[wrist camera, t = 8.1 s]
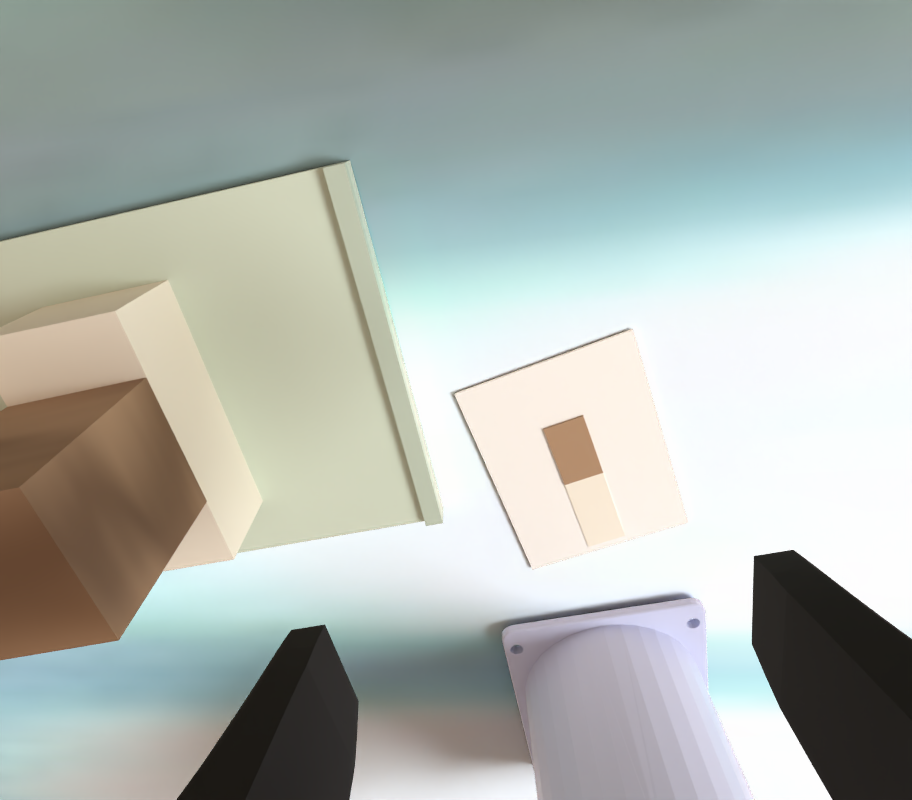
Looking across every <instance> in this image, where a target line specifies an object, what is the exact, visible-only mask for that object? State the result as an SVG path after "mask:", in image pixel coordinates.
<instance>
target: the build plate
mask: <svg viewBox="0 0 912 800" xmlns="http://www.w3.org/2000/svg"><path fill="white" fill-rule="evenodd" d="M165 280H168V281H169V283H170V285H171V288H172V290H173V292H174V295H175V297H176V299H177V302H178V304H179V306H180V309H181V311H182V313H183V316H184V318H185V320H186V323H187V325H188V327H189V330H190V332H191V334H192V337H193V339H194V341H195V344H196V346H197V348H198V351H199V353H200V355H201V358H202V360H203V363H204V365H205V367H206V370H207V372H208V374H209V377H210V379H211V381H212V384H213V386H214V388H215V391H216V393H217V395H218V398H219V400H220V402H221V405H222V407H223V409H224V412H225V414H226V416H227V419H228V421H229V423H230V426H231V428H232V430H233V433H234V435H235V437H236V440H237V442H238V444H239V447H240V449H241V451H242V454H243V456H244V458H245V461H246V463H247V465H248V468H249V470H250V472H251V475H252V477H253V479H254V482H255V484H256V486H257V489H258V491H259V493H260V496H261V498H262V500H263V502H262V504H261V506H260V508H259V510H258V512H257V514H256V516H255V518H254V520H253V522H252V524H251V526H250V528H249V530H248V532H247V534H246V536H245V538H244V540H243V542H242V544H241V546H240V548H239V550H238V552H237V553H240V552H246V551H252V550H258V549H263V548H269V547H275V546H281V545H287V544H293V543H299V542H304V541H310V540H316V539H322V538H328V537H334V536H339V535H345V534H351V533H357V532H363V531H369V530H375V529H380V528H386V527H392V526H398V525H404V524H410V523H416V522H421V521H425V524H426V526H429V525H435V524H440V523H443V505H442V501H441V497H440V494H439V490H438V486H437V482H436V479H435V475H434V471H433V468H432V464H431V460H430V456H429V453H428V449H427V445H426V442H425V438H424V434H423V430H422V427H421V423H420V419H419V415H418V412H417V408H416V404H415V401H414V397H413V393H412V389H411V386H410V382H409V378H408V375H407V371H406V367H405V363H404V360H403V356H402V352H401V349H400V345H399V341H398V337H397V334H396V330H395V326H394V323H393V319H392V315H391V311H390V308H389V304H388V300H387V296H386V293H385V289H384V285H383V282H382V278H381V274H380V270H379V267H378V263H377V259H376V256H375V252H374V248H373V244H372V241H371V237H370V233H369V230H368V226H367V222H366V218H365V215H364V211H363V207H362V204H361V200H360V196H359V192H358V189H357V185H356V181H355V177H354V174H353V170H352V166H351V163H350V160H349V161H345V162H341V163H336V164H332V165H328V166H323V167H319V168H315V169H310V170H306V171H302V172H297V173H293V174H289V175H284V176H280V177H276V178H271V179H267V180H263V181H258V182H254V183H250V184H245V185H241V186H237V187H232V188H228V189H224V190H219V191H215V192H211V193H206V194H202V195H198V196H193V197H189V198H185V199H180V200H176V201H172V202H167V203H163V204H159V205H154V206H150V207H146V208H141V209H137V210H133V211H128V212H124V213H120V214H115V215H111V216H107V217H102V218H98V219H94V220H89V221H85V222H81V223H76V224H72V225H68V226H63V227H59V228H55V229H50V230H46V231H41V232H37V233H33V234H28V235H24V236H20V237H15V238H11V239H7V240H2V241H0V327H2V326H4V325H6V324H8V323H10V322H12V321H15V320H17V319H19V318H21V317H23V316H25V315H27V314H29V313H31V312H33V311H35V310H38V309H40V308H42V307H45V306H50V305H54V304H59V303H64V302H68V301H73V300H77V299H82V298H87V297H91V296H96V295H100V294H105V293H110V292H114V291H119V290H123V289H128V288H132V287H137V286H142V285H146V284H151V283H155V282H160V281H165ZM6 407H7V405H6V404H5V402H4V401H3V399H2V397H1V396H0V411H2V410H3V409H5V408H6Z"/></svg>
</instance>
